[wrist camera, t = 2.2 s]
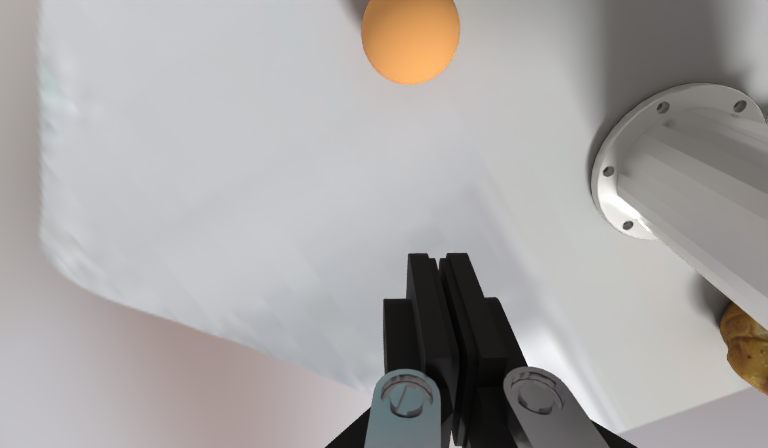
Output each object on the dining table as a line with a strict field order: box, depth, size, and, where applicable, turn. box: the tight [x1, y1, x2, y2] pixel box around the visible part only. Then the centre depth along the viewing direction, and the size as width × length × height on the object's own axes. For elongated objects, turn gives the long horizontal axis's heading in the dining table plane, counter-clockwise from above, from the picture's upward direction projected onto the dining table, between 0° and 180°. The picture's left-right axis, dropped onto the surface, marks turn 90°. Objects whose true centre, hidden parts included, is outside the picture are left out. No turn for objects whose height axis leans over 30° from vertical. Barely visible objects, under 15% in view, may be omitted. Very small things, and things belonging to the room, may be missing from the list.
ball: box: [361, 0, 460, 85], centre depth 25 cm, size 6×6×6 cm
